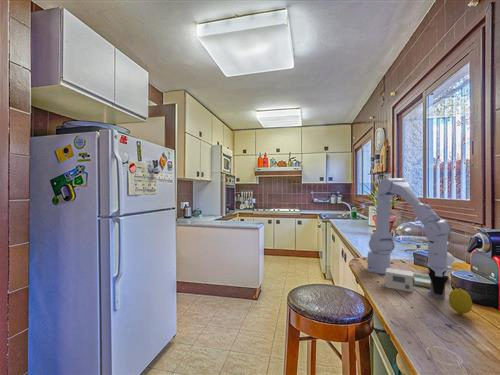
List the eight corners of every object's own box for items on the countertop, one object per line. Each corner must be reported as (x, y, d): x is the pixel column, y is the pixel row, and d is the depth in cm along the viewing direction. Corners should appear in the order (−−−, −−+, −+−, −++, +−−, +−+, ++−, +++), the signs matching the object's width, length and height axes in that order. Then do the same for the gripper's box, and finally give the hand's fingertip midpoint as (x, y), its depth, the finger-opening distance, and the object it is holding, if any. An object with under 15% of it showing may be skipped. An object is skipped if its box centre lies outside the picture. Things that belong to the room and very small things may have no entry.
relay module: (430, 296, 90) (430, 282, 90) (430, 292, 94) (430, 278, 94) (444, 299, 88) (444, 284, 88) (443, 294, 91) (443, 280, 91)
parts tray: (410, 284, 101) (410, 280, 101) (411, 276, 110) (411, 272, 110) (443, 290, 95) (443, 285, 95) (441, 281, 104) (441, 277, 104)
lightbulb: (457, 279, 106) (457, 254, 106) (441, 278, 107) (441, 253, 107) (449, 274, 112) (449, 250, 112) (433, 274, 113) (433, 249, 113)
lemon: (466, 311, 79) (466, 286, 79) (476, 320, 74) (476, 293, 74) (445, 308, 81) (445, 284, 81) (453, 317, 76) (453, 290, 76)
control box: (385, 287, 98) (385, 272, 98) (387, 282, 103) (387, 267, 103) (414, 293, 93) (414, 277, 93) (414, 287, 98) (414, 272, 98)
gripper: (453, 259, 83) (454, 300, 83) (449, 250, 95) (449, 286, 95) (427, 256, 87) (427, 295, 87) (426, 248, 99) (426, 282, 99)
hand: (437, 290), depth 91 cm, fingers open, 7 cm apart
